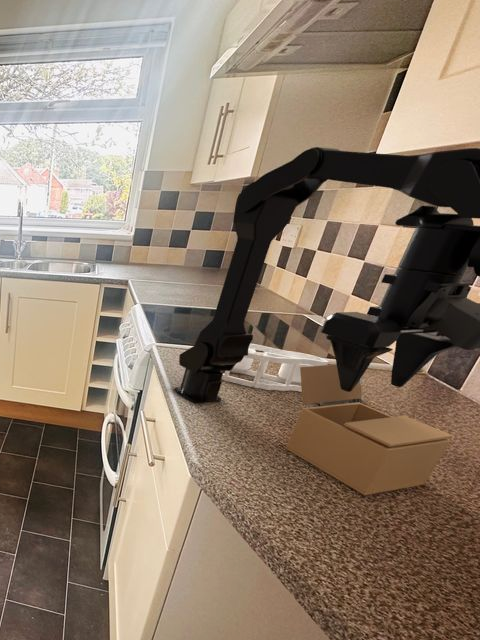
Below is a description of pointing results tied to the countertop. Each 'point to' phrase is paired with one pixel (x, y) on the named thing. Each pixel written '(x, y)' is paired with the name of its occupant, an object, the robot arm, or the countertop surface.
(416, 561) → the countertop surface
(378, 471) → the carton
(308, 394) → the flap
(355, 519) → the countertop surface
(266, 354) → the skeletal toy car
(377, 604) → the countertop surface
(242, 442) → the countertop surface
